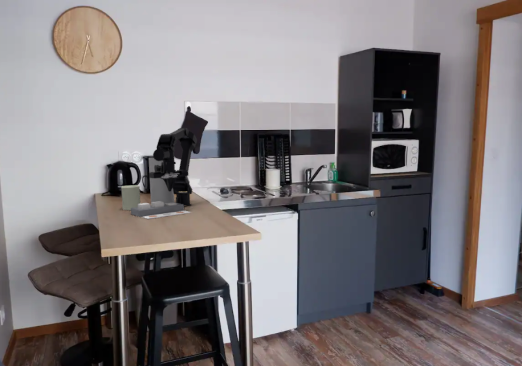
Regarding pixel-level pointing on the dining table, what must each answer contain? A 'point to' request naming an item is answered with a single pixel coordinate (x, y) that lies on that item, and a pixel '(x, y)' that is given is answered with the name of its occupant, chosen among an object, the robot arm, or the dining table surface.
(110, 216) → the dining table surface
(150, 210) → the button board
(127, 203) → the can
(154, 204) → the button middle
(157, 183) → the cylinder vase
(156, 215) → the pattern card
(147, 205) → the button
